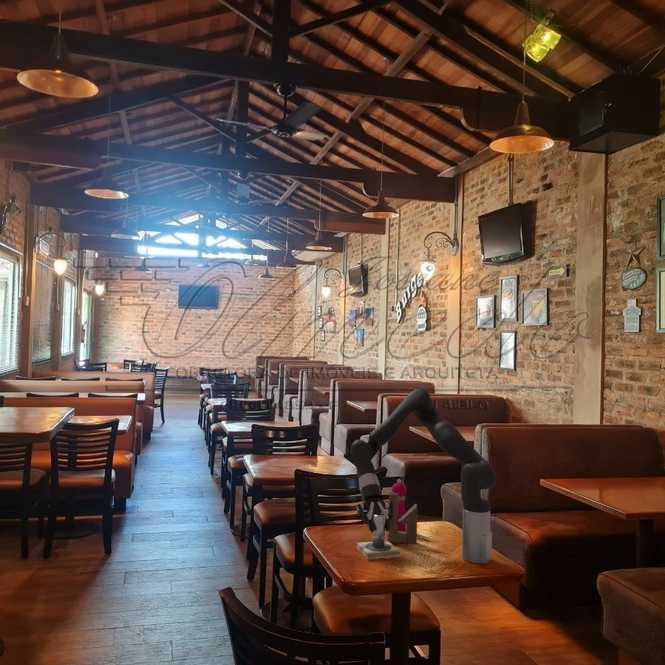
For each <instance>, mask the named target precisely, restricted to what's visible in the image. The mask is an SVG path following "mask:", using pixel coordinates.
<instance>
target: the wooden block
mask: <svg viewBox="0 0 665 665" xmlns="http://www.w3.org/2000/svg"><path fill="white" fill-rule="evenodd" d="M398 497H399V495H398V494H397V493H393V492H389V494H388V503H390V502H392V503H393V517H392V519H391V520H389V522H390V526H391V527H390V529H389V531H387V532H386V533H387V534H386V536H387V537H386V541H389V542H393V543H392V544H408V543H411V544H410V545H416V544H417V543H418V542H417V541H418V540H417V538H418V534H417V533H418V504H417V503H415V504H414V505H413V506H412V507H410V509H408V510H407V511H406V513H405V514H404V515H403V516H402V517H401V518H400V519H399V520H398ZM398 524H406V530H405V532H404V531H398Z"/></svg>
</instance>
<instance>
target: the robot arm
mask: <svg viewBox="0 0 665 665" xmlns="http://www.w3.org/2000/svg"><path fill="white" fill-rule="evenodd" d="M411 413H412V415H413V416H414V417H415V418H416V419H417V420H418V421H419V422H420V423H422V425H423V426H425V428H426V429H427V431H428V432H429V433H430V435H431V437H432V439H433V440H434V441H435V442H436V444H437V446H439V447H440V449H441V451H443V452H444V453H445V454H446V455H448V456H450V457H452V458H453V459H455V460H457V461H459V462H460V463H462V464H464V465H463V467H462V468H461V472H460V487H461V488H460V489H461V490H460V491H461V494H460V496H461V501H462V502H461V503H462V509H463V510H462V543H461V544H462V547H461V548H462V549H461V556H462V557H461V558H462V560H464V561H466V562H468V563H473V564H483V565H486V564H487V563H489V562H490V561H491V560H492V556H493V555H492V550H493V549H492V547H493V546H492V545H493V544H492V543H493V542H492V541H493V532H492V531H491V502H490V501H489V500H487V499H484V498H482V497H481V490H488V489H491V488H493V487H495V486H496V484H497V472H496V471H495V469H494V467H493V466H492V464H490V462H489V461H487V459H486V458H484V457H483V456H482V455H481V454H480V453H479V452H477V450H476V449H475V448H474V447H473V446H472V445H471V444H470V443H469V441H468V440H467V439H465V437H464V436H463V435H462V433H461V432H460V431H459V429H458V428H456V426H455V425H454V424H453V423H451V422H450V421H449V420H447V419H444V418H443V417H442V416H441V415H440V414H439V413H438V411H437V409H436V408H435V406H434V403H433V401H432V398H431V395H430V393H429V391H428V390H427V389H424V388H416V389H414V390H412V391H410V393H409V394H408V395H406V397H405V398H404V399H403V400H402V402H400V404H399V405H398V406H397V407H396V408H395V409H394V410H393V412H392V413H391V414H390V415H389V416H387V418H386V419H384V420H383V421H382V423H380V424H379V425H378V426H377V427H376V428H374V429H373V430H372V431H371V432H369V435H368V439H367V441H365V440H363V439H356V440H354V441H353V442H352V444H351V445H350V453H351V456H352V459H353V463H354V465H355V469H356V475H357V478H358V479H357V480H358V486H359V490H360V494H361V500H362V504H361V503H358V504H356V509H355V510H356V512H357V514H358V516H359V518H360V521H361V522H362V523H365V522H366V523H367V526H368V530H369V531H370V532H371V533H373V532H374V530H375V529H374V525H373V514H375V513H381V514H385V515H386V518H385V533H387V531H389V529H390V527H391V526H390V522H389V520H391V519H392V517H393V503H392V502H390V503H389V502H388V503H387V502H386V501H385V500H384V498H383V493H382V490H381V489H382V488H381V484H380V481H379V479H378V477H377V472H376V469H375V466H374V463H373V461H372V459H374V458H375V456H376V455H377V454H378V452H379V451H380V450H381V449H382V447H383V446H384V445H386V444H387V443H388V442H390V441H391V440H392V439H393V438H394V437H395V435H396V434H397V433H398V431H399V430H400V428H401V426H402V425H403V423H404V421H405V420H406V418H407V417H408V416H409V415H410V414H411ZM385 508H386V510H387V511H386V510H385ZM364 510H365V511H366V512H367V514H365V511H364Z"/></svg>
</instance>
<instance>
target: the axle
mask: <svg viewBox="0 0 665 665" xmlns="http://www.w3.org/2000/svg"><path fill="white" fill-rule="evenodd" d="M385 518H386V515H385V514H381V513H375V514H373V515H372V520H373V525H374V529H375V530H374V532H372V534H371V535H372V538H371V539H372V540H371V542H372V547H374V548H384V547H385V541H386V529H385Z"/></svg>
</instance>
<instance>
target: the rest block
mask: <svg viewBox="0 0 665 665" xmlns="http://www.w3.org/2000/svg"><path fill="white" fill-rule="evenodd" d="M356 549H357V550H358V551H359V552H360V554H362V556H363V557H364V556H365V557H366V558H365V557H364V558H365V559H366V561H367V560H368V559H369V560H380V559H379V558H385V559H391V558H390V557H399V558H401V551H400V549H398V548H397V547H396V546H394V545H393V543H390V542H389V541H387V540H385V547H384V548H374V547H372V541H366V542H365V541H364V542H360V541H359V542H356ZM369 560H368V561H369Z"/></svg>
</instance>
